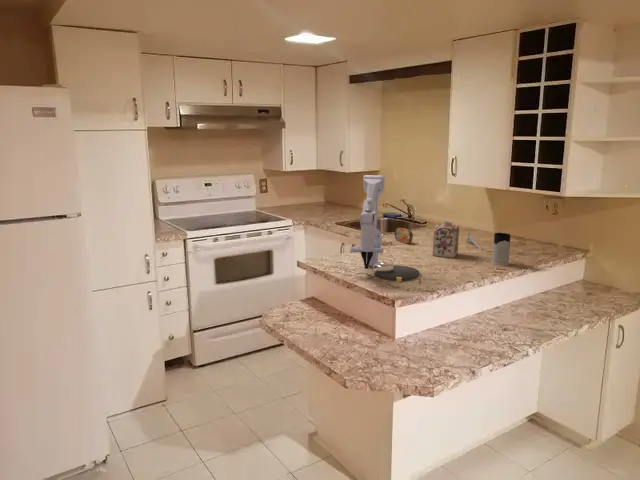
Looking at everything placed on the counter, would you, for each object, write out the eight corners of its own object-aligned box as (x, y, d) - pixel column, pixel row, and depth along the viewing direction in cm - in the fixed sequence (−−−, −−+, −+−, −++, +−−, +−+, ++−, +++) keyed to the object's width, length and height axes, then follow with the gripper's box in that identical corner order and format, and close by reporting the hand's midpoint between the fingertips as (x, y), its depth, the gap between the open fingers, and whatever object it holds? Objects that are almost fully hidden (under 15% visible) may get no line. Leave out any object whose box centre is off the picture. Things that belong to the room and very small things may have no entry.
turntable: (373, 267, 233) (373, 264, 233) (416, 268, 232) (416, 265, 231) (375, 281, 211) (375, 277, 211) (422, 282, 210) (423, 279, 210)
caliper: (465, 242, 297) (466, 232, 296) (467, 242, 297) (468, 232, 296) (480, 250, 277) (481, 239, 276) (482, 250, 277) (483, 239, 276)
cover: (372, 267, 227) (373, 260, 226) (392, 268, 227) (392, 260, 226) (373, 273, 218) (374, 265, 218) (394, 273, 218) (394, 265, 217)
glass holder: (494, 265, 243) (496, 236, 240) (484, 258, 257) (487, 230, 254) (511, 266, 243) (514, 236, 240) (501, 259, 257) (504, 230, 254)
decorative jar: (458, 253, 268) (460, 221, 264) (454, 258, 257) (456, 224, 254) (436, 251, 273) (437, 219, 269) (431, 255, 262) (433, 222, 259)
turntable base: (371, 269, 234) (371, 267, 234) (417, 270, 233) (417, 268, 233) (373, 283, 213) (373, 280, 212) (424, 284, 211) (424, 281, 211)
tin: (393, 240, 301) (394, 226, 300) (398, 239, 303) (398, 226, 301) (409, 245, 288) (409, 230, 286) (413, 244, 290) (414, 230, 288)
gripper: (351, 240, 216) (350, 270, 219) (384, 240, 216) (383, 270, 218) (351, 236, 223) (350, 265, 226) (383, 237, 222) (382, 266, 225)
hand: (366, 268), depth 223 cm, fingers closed
